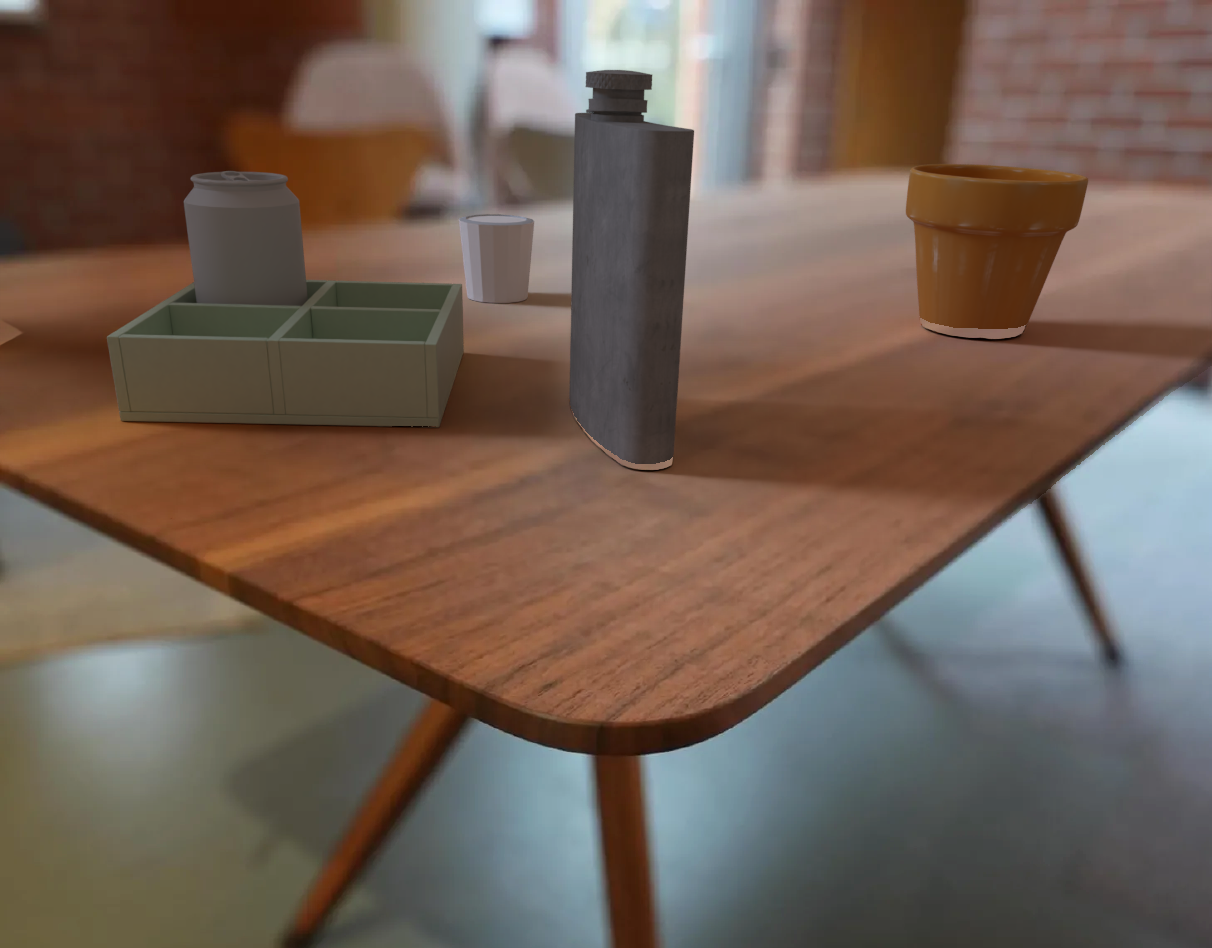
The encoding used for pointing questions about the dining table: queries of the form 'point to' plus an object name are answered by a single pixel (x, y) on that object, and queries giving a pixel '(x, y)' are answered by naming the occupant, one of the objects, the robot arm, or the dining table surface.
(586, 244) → the hip flask
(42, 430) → the dining table surface
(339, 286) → the compartment tray
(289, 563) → the dining table surface
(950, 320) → the flower pot
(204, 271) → the can
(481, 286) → the shot glass
